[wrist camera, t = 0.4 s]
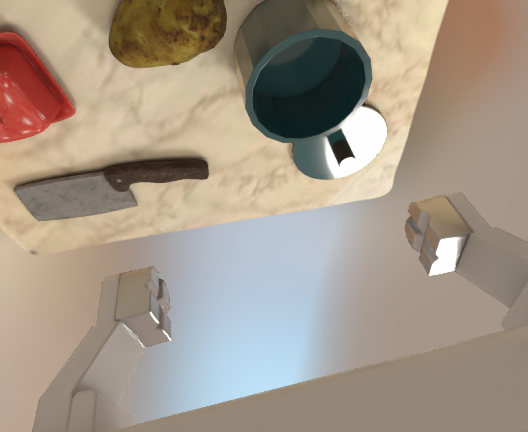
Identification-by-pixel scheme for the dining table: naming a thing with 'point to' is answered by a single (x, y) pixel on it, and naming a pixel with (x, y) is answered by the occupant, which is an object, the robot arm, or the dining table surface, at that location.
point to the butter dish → (27, 91)
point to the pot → (300, 69)
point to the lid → (343, 147)
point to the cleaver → (101, 188)
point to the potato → (165, 31)
